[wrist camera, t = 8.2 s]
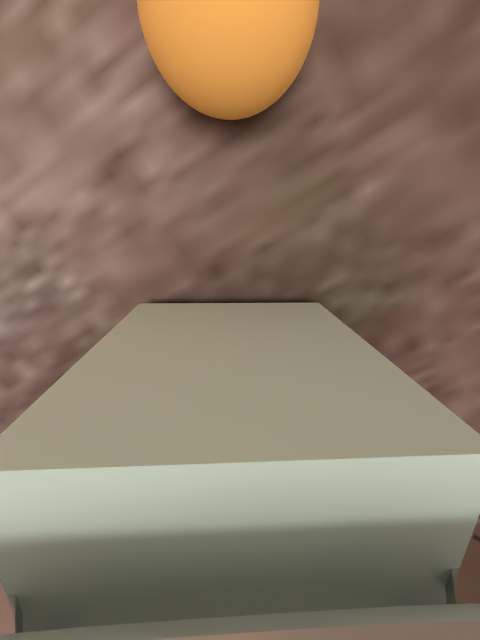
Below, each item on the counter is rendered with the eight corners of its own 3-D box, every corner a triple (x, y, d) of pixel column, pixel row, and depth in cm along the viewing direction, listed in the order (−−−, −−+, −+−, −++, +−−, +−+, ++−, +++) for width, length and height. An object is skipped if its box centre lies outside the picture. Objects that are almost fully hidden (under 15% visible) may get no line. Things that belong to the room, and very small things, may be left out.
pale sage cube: (304, 445, 15) (403, 716, 7) (154, 450, 15) (64, 746, 6) (318, 302, 13) (502, 453, 4) (139, 303, 12) (-41, 472, 4)
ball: (290, 139, 11) (338, 80, 7) (164, 137, 11) (120, 73, 6) (299, -27, 10) (370, -261, 5) (152, -35, 10) (82, -288, 5)
